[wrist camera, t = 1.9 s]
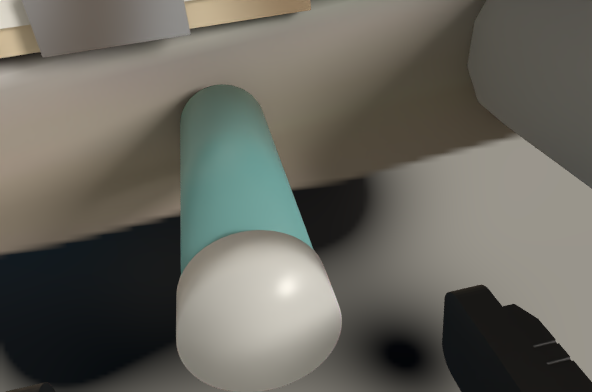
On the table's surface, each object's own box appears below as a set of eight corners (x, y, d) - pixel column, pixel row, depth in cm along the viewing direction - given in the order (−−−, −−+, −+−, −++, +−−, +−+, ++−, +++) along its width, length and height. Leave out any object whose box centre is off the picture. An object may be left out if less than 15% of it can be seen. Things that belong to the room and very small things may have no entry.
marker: (258, 70, 21) (336, 253, 11) (270, 150, 23) (346, 372, 13) (168, 85, 21) (157, 289, 10) (188, 165, 23) (195, 407, 12)
